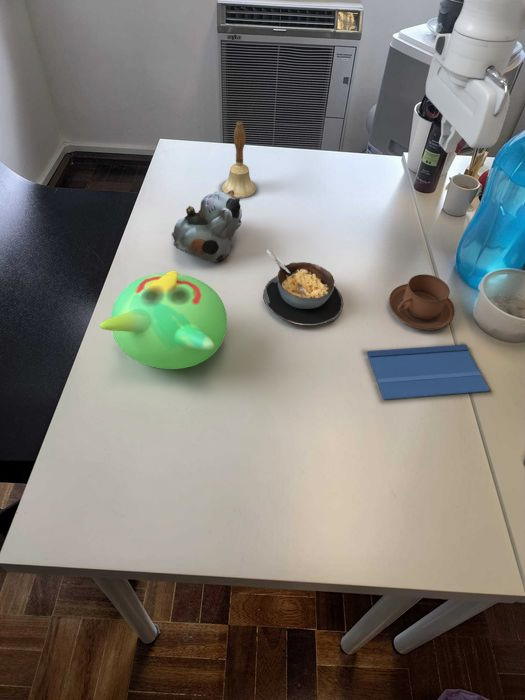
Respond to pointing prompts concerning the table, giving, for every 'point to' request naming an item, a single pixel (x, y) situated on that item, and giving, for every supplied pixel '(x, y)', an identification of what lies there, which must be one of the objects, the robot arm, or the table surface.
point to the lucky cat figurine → (209, 227)
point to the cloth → (426, 372)
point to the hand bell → (239, 169)
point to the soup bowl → (303, 293)
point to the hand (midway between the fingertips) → (446, 148)
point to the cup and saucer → (423, 303)
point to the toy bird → (168, 321)
